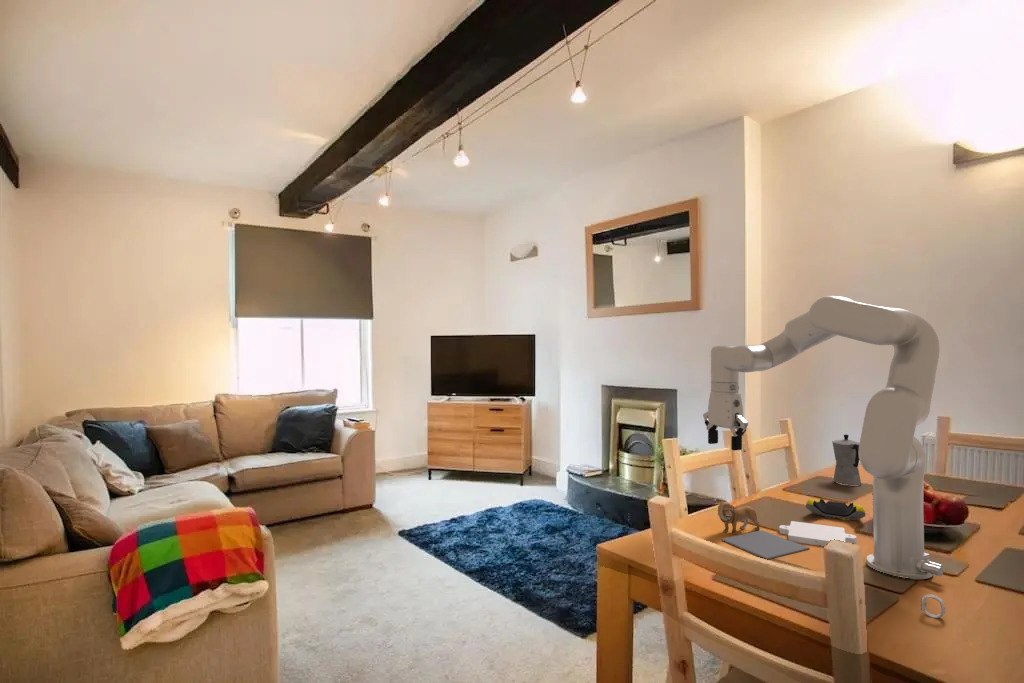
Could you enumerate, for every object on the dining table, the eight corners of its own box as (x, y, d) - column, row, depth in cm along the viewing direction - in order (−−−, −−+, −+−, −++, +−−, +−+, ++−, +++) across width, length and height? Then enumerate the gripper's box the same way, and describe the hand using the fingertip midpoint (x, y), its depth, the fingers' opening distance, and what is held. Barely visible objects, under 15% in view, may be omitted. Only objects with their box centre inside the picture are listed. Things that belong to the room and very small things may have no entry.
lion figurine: (728, 539, 146) (727, 505, 146) (713, 533, 150) (712, 500, 150) (765, 529, 152) (764, 497, 152) (749, 524, 157) (748, 493, 157)
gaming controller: (865, 527, 153) (866, 517, 161) (865, 507, 153) (866, 499, 161) (805, 518, 162) (809, 509, 170) (805, 500, 162) (808, 492, 170)
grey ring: (946, 617, 103) (945, 596, 103) (945, 622, 101) (944, 600, 101) (922, 611, 105) (921, 591, 105) (921, 616, 104) (920, 595, 104)
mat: (809, 549, 137) (809, 547, 137) (766, 559, 131) (766, 558, 131) (762, 531, 151) (761, 530, 151) (721, 540, 145) (721, 538, 145)
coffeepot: (824, 478, 206) (823, 431, 206) (850, 479, 206) (849, 431, 206) (846, 489, 191) (845, 438, 191) (874, 489, 190) (873, 438, 190)
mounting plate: (777, 540, 145) (777, 533, 145) (781, 526, 156) (781, 519, 156) (857, 552, 136) (857, 545, 136) (855, 536, 147) (855, 529, 147)
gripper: (757, 390, 151) (757, 451, 151) (714, 385, 167) (714, 440, 167) (735, 391, 148) (735, 453, 149) (694, 385, 165) (694, 442, 165)
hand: (724, 446), depth 158 cm, fingers open, 9 cm apart
